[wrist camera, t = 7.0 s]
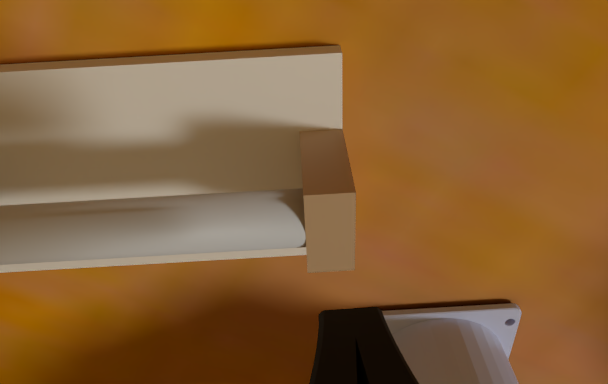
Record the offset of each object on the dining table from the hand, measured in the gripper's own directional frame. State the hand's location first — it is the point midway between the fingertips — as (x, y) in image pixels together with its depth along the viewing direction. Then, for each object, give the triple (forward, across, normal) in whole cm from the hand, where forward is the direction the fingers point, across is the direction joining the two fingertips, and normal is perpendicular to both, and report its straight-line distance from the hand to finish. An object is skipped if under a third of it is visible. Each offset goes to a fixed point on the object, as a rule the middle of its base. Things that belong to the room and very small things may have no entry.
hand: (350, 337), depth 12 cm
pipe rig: (+10, +10, +1) cm, 14 cm away
